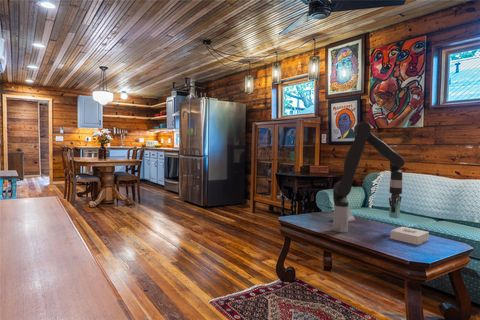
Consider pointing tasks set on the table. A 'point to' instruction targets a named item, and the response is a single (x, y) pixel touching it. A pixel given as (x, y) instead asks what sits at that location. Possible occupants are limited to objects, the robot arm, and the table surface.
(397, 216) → the bracket
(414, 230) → the block
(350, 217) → the hinge
